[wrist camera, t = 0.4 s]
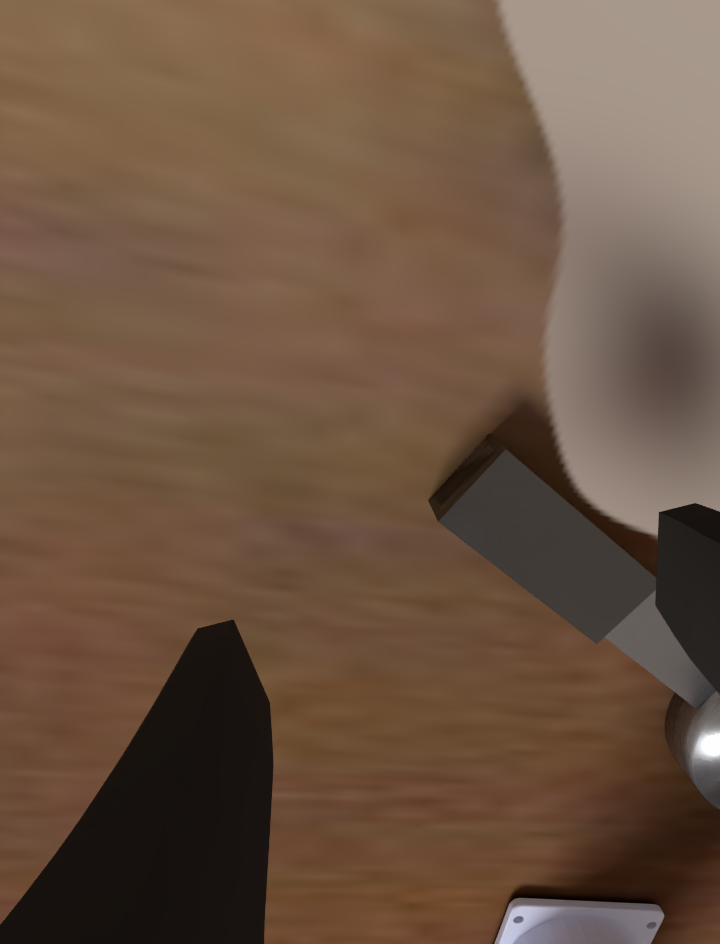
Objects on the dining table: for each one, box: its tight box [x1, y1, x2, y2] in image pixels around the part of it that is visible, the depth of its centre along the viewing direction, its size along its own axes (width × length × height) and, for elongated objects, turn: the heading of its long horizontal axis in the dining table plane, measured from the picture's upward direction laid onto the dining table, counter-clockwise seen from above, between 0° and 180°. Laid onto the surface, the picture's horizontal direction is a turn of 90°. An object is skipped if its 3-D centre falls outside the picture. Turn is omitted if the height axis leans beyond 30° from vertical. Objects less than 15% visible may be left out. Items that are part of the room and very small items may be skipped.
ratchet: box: [428, 434, 720, 809], centre depth 21 cm, size 22×8×5 cm, turn 50°
